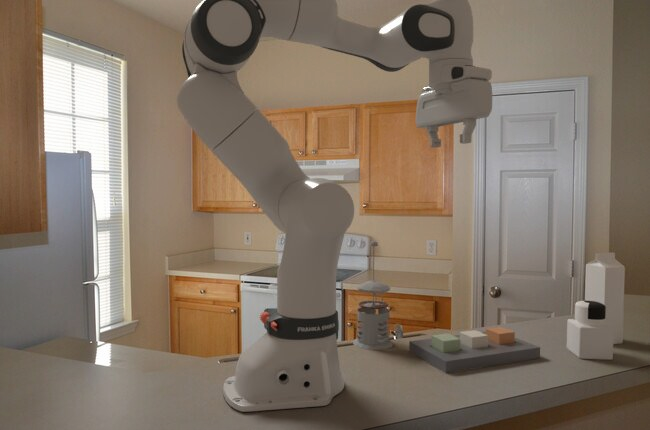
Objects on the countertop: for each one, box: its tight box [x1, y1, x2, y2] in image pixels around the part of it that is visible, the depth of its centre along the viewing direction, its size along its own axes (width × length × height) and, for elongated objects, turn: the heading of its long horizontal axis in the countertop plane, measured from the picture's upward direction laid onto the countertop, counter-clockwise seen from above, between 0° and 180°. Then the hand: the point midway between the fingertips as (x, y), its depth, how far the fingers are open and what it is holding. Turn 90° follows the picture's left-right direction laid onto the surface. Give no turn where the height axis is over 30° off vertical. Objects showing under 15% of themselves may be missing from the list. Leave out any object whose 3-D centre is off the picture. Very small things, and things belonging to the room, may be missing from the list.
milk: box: [584, 252, 626, 345], centre depth 117 cm, size 6×6×22 cm
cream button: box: [459, 329, 488, 349], centre depth 107 cm, size 4×4×3 cm
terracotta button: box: [485, 326, 516, 345], centre depth 109 cm, size 4×4×3 cm
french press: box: [352, 240, 394, 351], centre depth 115 cm, size 10×12×25 cm
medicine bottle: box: [566, 300, 614, 361], centre depth 107 cm, size 7×7×12 cm
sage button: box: [431, 333, 460, 353], centre depth 104 cm, size 4×4×3 cm
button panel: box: [408, 331, 541, 374], centre depth 107 cm, size 25×14×2 cm, turn 111°
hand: (449, 145), depth 99 cm, fingers open, 8 cm apart
